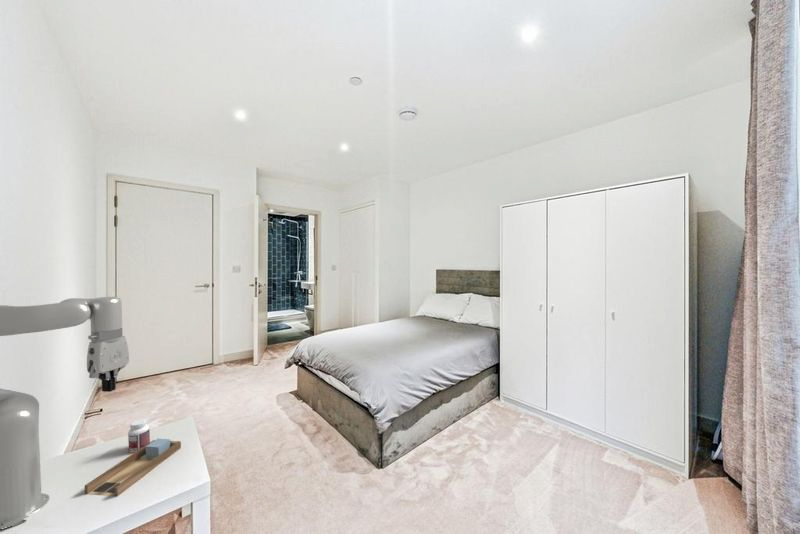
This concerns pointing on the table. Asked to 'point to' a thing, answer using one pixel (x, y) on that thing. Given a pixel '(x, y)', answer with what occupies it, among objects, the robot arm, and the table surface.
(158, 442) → the block
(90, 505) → the table surface
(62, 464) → the table surface
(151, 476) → the table surface
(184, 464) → the table surface
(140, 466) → the box
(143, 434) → the pill bottle
